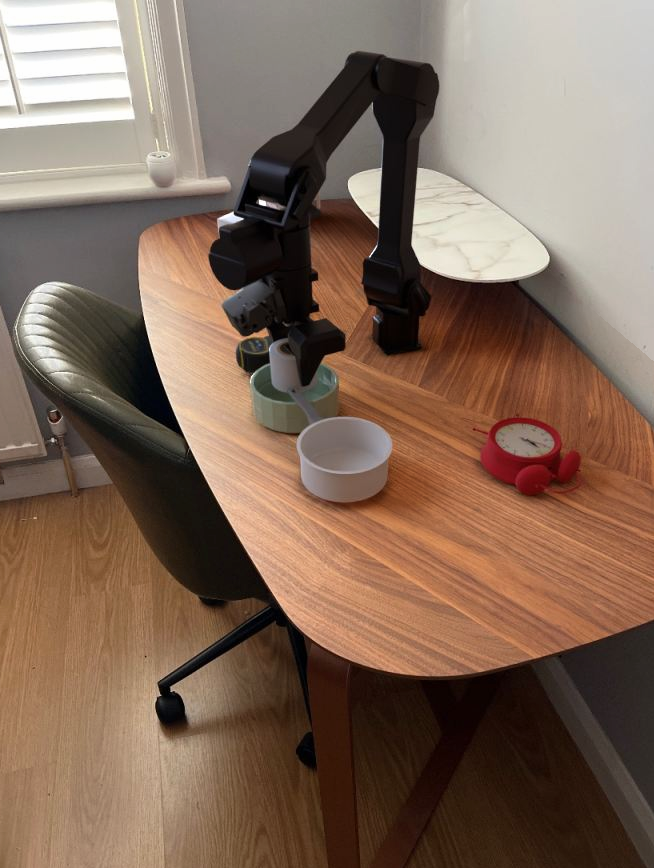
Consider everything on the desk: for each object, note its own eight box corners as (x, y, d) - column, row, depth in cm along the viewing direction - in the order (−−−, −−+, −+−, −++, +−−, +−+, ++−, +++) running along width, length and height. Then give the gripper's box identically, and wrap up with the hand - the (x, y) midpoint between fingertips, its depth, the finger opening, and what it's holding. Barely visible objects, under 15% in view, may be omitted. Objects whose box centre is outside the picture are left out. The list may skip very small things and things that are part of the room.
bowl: (323, 383, 111) (322, 353, 107) (350, 426, 102) (350, 394, 99) (244, 397, 107) (241, 366, 104) (265, 443, 99) (262, 411, 96)
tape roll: (309, 366, 105) (308, 333, 101) (323, 388, 100) (322, 354, 97) (266, 374, 103) (263, 340, 100) (278, 396, 99) (276, 362, 95)
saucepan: (329, 410, 104) (329, 376, 100) (408, 491, 92) (411, 454, 88) (254, 434, 100) (250, 399, 96) (326, 522, 87) (325, 485, 83)
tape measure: (286, 375, 112) (285, 352, 110) (241, 381, 111) (239, 358, 108) (276, 353, 117) (275, 331, 115) (233, 359, 116) (231, 337, 113)
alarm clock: (524, 405, 100) (607, 439, 88) (524, 447, 103) (604, 486, 91) (461, 425, 96) (539, 464, 84) (463, 469, 99) (538, 512, 87)
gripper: (197, 248, 94) (212, 359, 104) (259, 305, 82) (269, 424, 92) (277, 233, 98) (284, 341, 108) (347, 284, 86) (348, 401, 96)
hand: (294, 374), depth 101 cm, fingers closed on tape roll, 6 cm apart
